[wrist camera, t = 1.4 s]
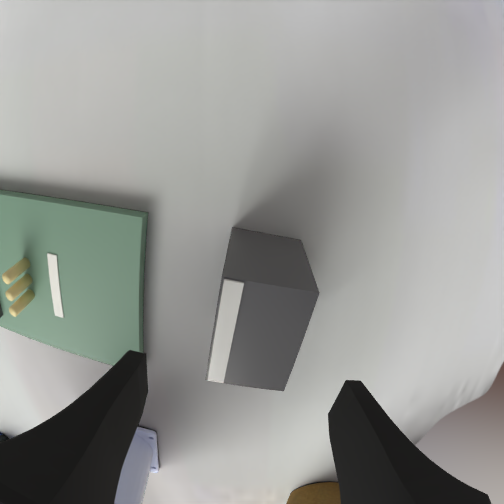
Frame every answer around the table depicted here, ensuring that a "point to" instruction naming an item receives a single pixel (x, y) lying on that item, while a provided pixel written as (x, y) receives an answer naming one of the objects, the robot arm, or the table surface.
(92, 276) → the pcb
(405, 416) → the table surface
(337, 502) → the plant pot
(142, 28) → the table surface
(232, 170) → the table surface
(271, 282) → the plug
